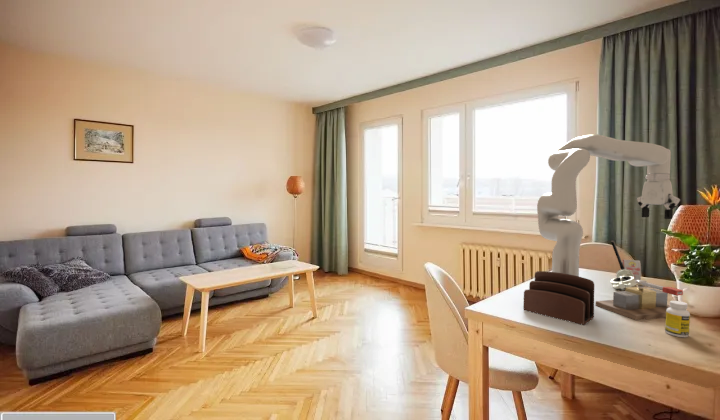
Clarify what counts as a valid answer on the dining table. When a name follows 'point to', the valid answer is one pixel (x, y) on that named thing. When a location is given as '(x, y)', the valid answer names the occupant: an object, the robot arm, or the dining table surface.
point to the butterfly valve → (622, 274)
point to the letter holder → (561, 297)
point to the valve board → (635, 311)
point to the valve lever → (660, 287)
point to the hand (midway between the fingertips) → (656, 217)
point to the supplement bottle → (677, 319)
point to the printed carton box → (633, 268)
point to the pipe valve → (639, 298)
